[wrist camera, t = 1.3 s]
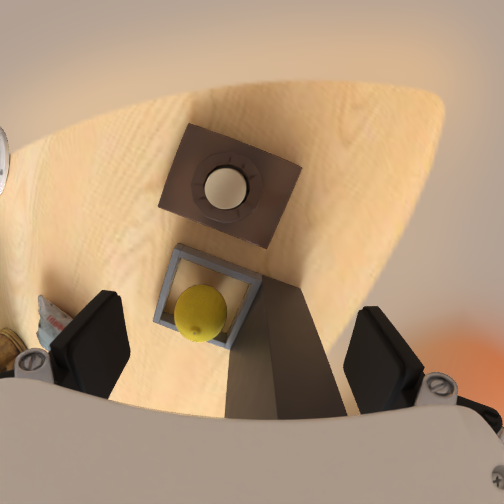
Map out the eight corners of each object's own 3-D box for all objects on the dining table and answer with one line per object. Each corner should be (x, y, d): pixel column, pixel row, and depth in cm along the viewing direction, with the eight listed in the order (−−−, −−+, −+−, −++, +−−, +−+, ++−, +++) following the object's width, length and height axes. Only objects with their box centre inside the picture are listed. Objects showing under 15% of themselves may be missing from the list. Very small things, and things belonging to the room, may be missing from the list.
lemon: (182, 272, 32) (164, 304, 24) (230, 275, 32) (225, 310, 24) (183, 313, 33) (168, 352, 26) (228, 317, 34) (223, 358, 26)
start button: (201, 198, 26) (198, 200, 24) (215, 162, 25) (213, 162, 23) (237, 212, 26) (237, 215, 24) (252, 176, 25) (252, 177, 23)
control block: (163, 203, 29) (151, 210, 26) (192, 125, 27) (184, 120, 23) (265, 243, 31) (268, 255, 27) (298, 167, 28) (306, 167, 25)
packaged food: (49, 287, 32) (30, 303, 28) (113, 331, 34) (99, 352, 30) (43, 327, 35) (27, 343, 30) (101, 366, 37) (89, 387, 32)
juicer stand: (156, 316, 34) (73, 491, 10) (179, 238, 31) (46, 418, 7) (271, 356, 36) (291, 538, 12) (310, 287, 33) (392, 486, 9)
